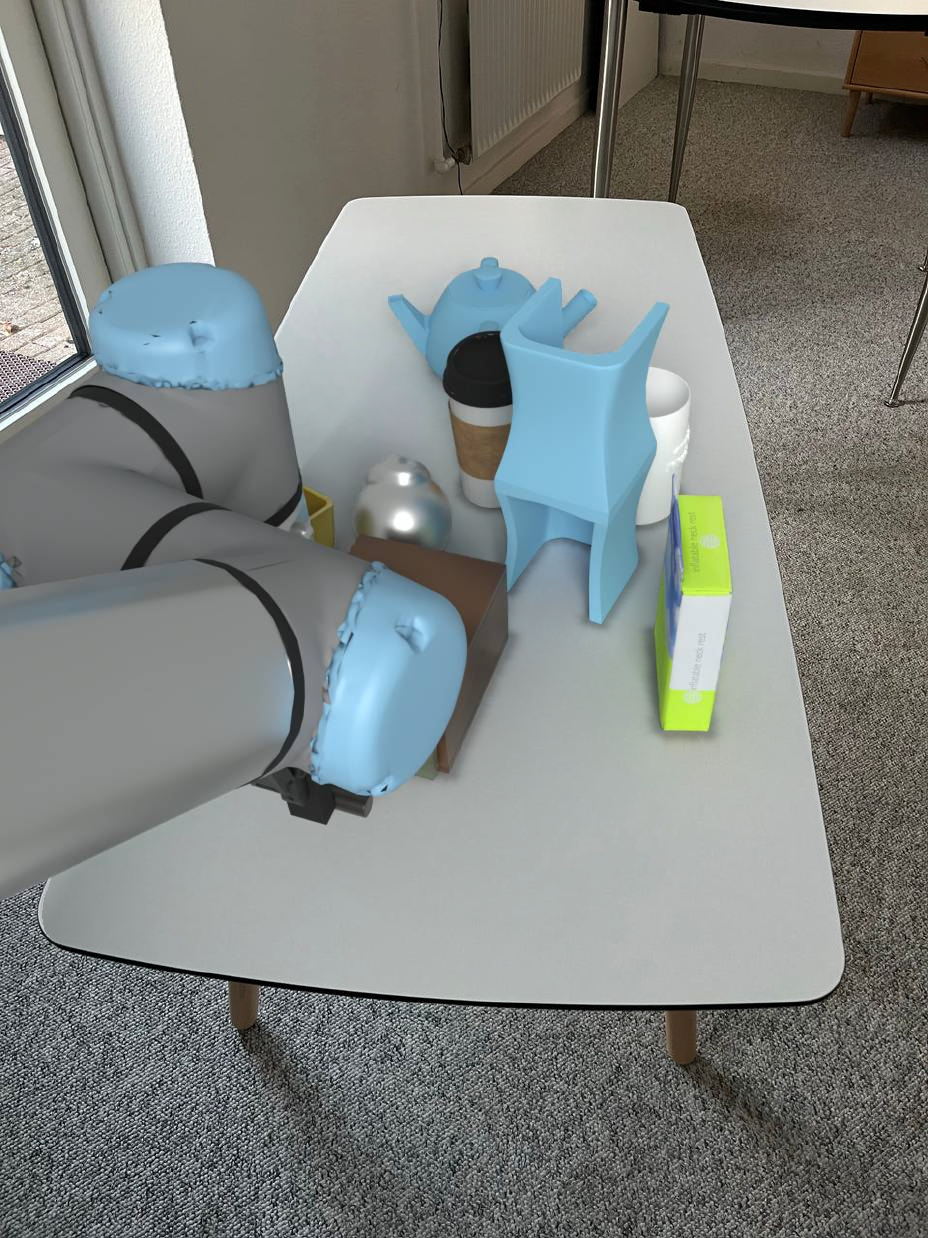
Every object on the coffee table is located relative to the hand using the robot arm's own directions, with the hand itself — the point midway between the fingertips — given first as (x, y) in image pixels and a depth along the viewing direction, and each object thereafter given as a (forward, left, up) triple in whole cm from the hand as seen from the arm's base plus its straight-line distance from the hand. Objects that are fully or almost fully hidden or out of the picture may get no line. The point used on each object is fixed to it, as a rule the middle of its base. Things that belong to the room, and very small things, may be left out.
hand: (312, 811), depth 73 cm
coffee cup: (+38, +17, -5) cm, 42 cm away
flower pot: (+16, +23, -5) cm, 29 cm away
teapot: (+54, +31, -5) cm, 63 cm away
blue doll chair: (+34, +4, -5) cm, 35 cm away
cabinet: (+15, +6, -5) cm, 17 cm away
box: (+29, -10, -5) cm, 32 cm away
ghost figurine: (+26, +17, -5) cm, 32 cm away
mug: (+47, +7, -5) cm, 48 cm away
